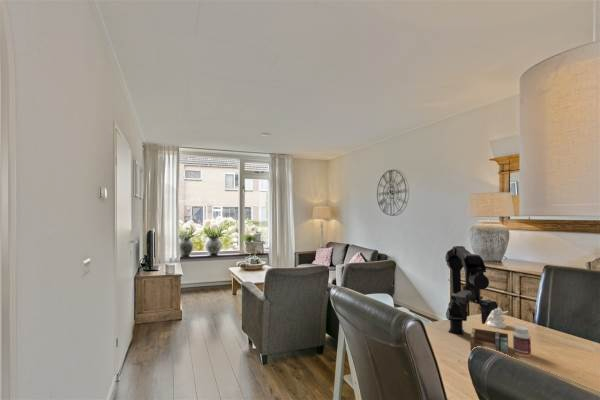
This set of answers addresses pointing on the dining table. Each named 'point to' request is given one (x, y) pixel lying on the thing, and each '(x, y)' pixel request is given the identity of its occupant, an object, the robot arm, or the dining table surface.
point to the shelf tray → (489, 340)
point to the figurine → (496, 318)
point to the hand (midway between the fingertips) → (473, 320)
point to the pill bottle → (522, 341)
